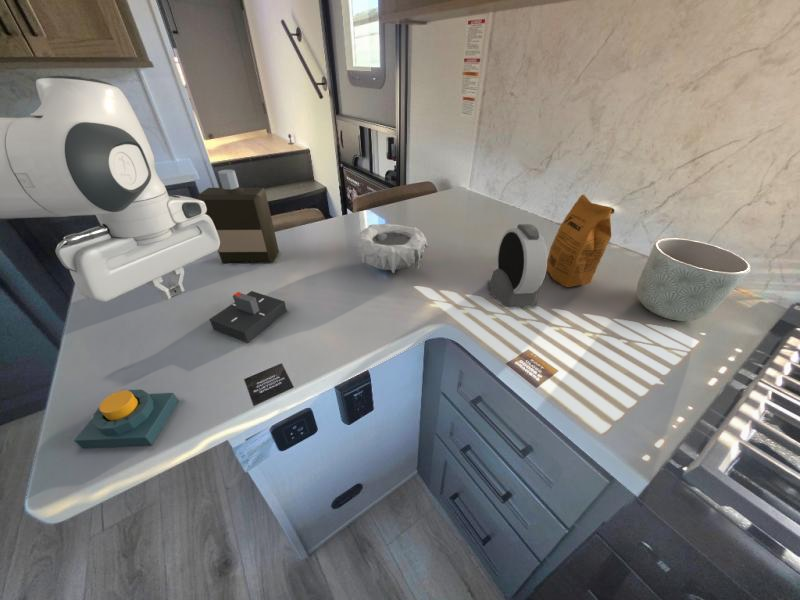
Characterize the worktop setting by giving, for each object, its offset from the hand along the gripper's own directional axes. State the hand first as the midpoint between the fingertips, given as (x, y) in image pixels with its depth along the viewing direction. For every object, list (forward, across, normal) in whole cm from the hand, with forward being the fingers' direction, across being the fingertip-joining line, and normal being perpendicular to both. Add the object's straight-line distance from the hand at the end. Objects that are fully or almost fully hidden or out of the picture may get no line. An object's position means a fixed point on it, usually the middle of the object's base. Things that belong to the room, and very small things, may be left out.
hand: (173, 294), depth 53 cm
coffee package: (+13, +65, -66) cm, 93 cm away
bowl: (+14, +50, -18) cm, 55 cm away
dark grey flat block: (+15, +13, 0) cm, 20 cm away
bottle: (+15, +36, +23) cm, 45 cm away
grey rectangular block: (+12, +13, 0) cm, 18 cm away
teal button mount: (+16, -14, -2) cm, 21 cm away
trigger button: (+12, -14, -2) cm, 19 cm away
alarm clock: (+14, +50, -53) cm, 74 cm away
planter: (+13, +59, -89) cm, 107 cm away
